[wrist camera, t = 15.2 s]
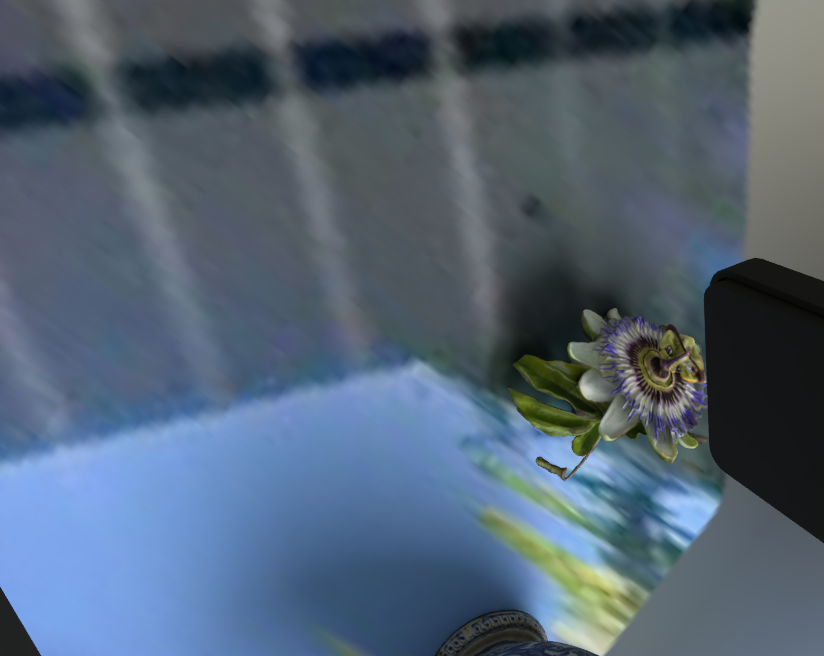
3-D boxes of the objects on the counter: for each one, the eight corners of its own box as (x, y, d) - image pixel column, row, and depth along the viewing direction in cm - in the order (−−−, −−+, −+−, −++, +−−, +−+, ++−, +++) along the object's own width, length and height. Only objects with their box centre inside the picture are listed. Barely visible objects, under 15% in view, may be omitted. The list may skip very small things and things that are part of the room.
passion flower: (564, 294, 58) (733, 312, 52) (554, 433, 60) (716, 467, 54) (497, 309, 49) (693, 334, 42) (487, 473, 51) (673, 521, 44)
